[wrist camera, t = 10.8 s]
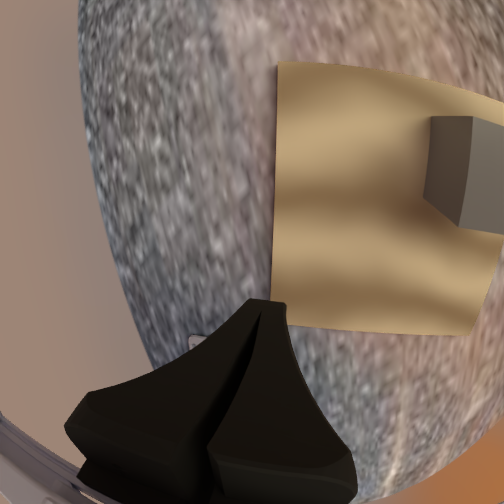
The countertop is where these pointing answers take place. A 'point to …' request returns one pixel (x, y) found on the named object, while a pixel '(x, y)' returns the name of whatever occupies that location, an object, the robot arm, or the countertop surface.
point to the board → (371, 205)
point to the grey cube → (467, 172)
